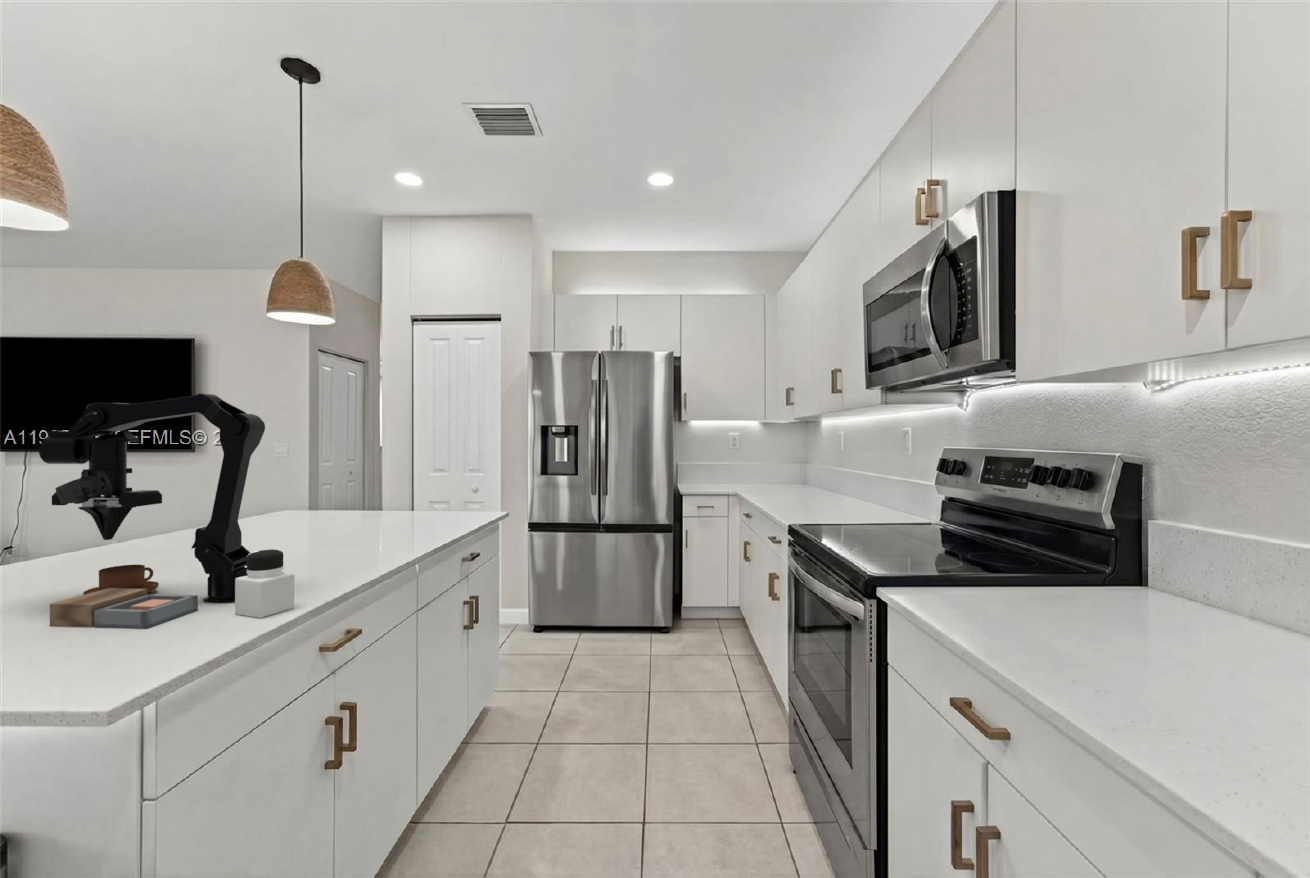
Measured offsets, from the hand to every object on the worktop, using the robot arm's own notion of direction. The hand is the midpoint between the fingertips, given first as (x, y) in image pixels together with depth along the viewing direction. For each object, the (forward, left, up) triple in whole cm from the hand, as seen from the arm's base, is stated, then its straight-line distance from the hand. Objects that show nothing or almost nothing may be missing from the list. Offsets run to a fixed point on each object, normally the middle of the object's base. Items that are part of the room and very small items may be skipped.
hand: (107, 539), depth 121 cm
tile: (-19, +9, -10) cm, 23 cm away
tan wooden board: (-8, +9, -13) cm, 18 cm away
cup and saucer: (+2, -5, -13) cm, 14 cm away
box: (-17, +9, -13) cm, 24 cm away
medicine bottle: (-36, +3, -13) cm, 38 cm away
